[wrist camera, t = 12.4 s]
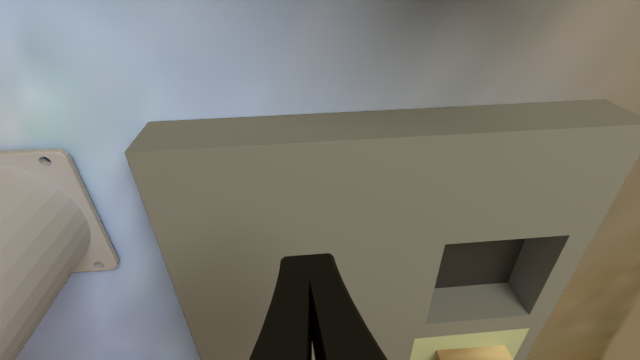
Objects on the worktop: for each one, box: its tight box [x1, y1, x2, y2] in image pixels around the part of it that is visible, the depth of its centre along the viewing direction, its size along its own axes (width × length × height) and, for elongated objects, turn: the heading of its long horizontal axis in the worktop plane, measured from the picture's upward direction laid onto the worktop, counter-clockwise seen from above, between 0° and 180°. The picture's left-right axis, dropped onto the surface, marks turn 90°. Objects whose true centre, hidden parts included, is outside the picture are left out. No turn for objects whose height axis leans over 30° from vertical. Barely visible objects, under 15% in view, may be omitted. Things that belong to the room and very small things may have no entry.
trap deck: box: [125, 100, 640, 360], centre depth 25 cm, size 23×32×3 cm
